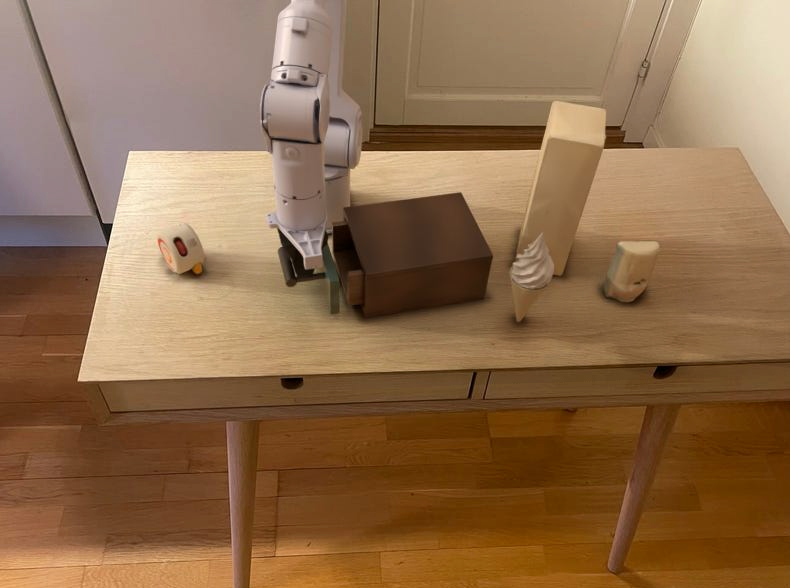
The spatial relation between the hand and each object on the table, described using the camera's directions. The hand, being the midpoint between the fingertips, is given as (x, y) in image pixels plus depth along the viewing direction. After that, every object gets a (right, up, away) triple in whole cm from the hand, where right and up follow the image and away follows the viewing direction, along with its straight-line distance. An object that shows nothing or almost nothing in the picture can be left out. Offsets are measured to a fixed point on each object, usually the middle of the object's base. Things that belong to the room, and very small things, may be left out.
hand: (304, 271), depth 95 cm
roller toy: (-16, +1, +4) cm, 17 cm away
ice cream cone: (+27, -6, +2) cm, 28 cm away
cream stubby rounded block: (+42, -2, +6) cm, 43 cm away
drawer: (+7, 0, +3) cm, 8 cm away
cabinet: (+14, 0, +6) cm, 15 cm away
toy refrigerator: (+32, +3, +10) cm, 34 cm away
